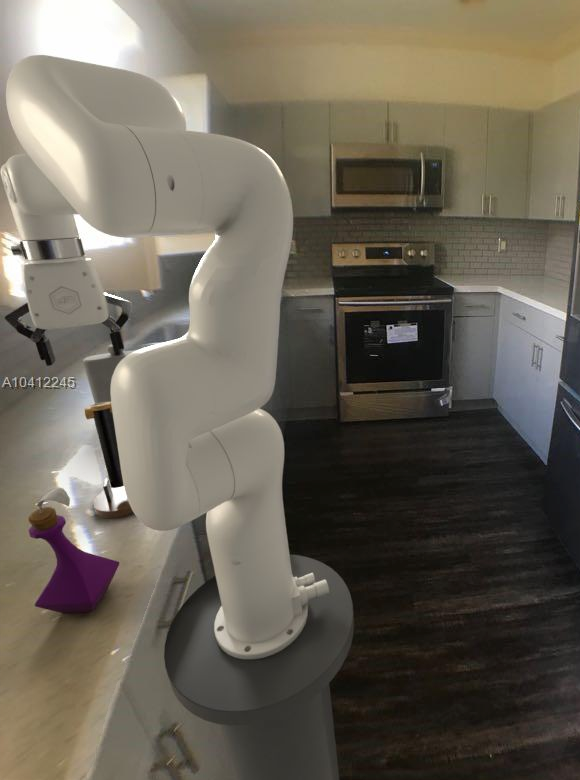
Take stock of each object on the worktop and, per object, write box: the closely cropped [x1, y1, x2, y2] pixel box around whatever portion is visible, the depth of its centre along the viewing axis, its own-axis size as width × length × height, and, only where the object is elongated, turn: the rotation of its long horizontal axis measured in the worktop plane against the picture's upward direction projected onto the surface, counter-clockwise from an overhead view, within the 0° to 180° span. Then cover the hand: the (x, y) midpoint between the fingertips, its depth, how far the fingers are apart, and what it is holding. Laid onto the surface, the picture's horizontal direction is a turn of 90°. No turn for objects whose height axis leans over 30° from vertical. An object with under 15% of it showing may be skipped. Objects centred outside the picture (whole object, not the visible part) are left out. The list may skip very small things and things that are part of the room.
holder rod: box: [84, 402, 124, 488], centre depth 83 cm, size 16×5×3 cm
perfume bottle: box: [27, 486, 120, 614], centre depth 61 cm, size 8×8×18 cm
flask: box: [82, 343, 138, 404], centre depth 118 cm, size 15×6×20 cm, turn 110°
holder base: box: [92, 477, 134, 519], centre depth 85 cm, size 10×10×5 cm
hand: (85, 358), depth 76 cm, fingers open, 9 cm apart
